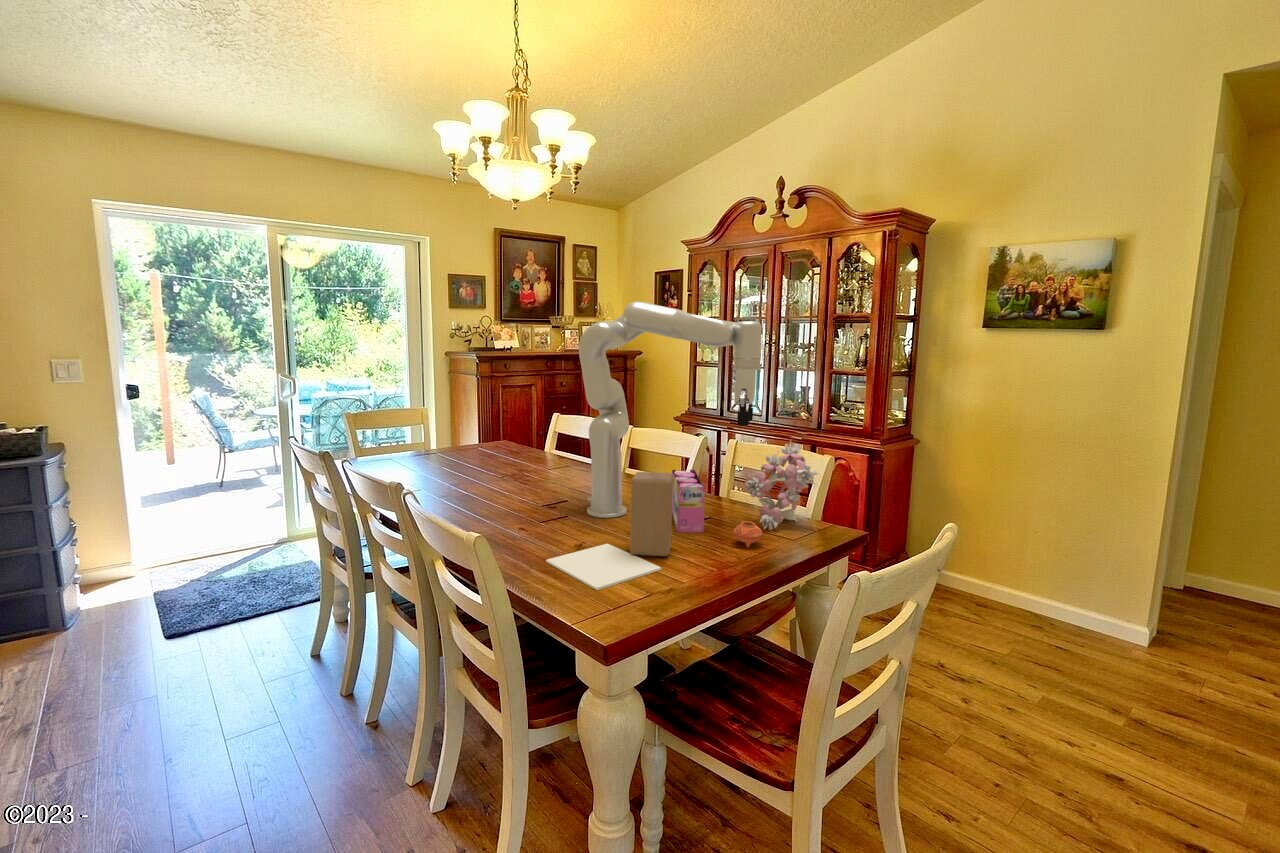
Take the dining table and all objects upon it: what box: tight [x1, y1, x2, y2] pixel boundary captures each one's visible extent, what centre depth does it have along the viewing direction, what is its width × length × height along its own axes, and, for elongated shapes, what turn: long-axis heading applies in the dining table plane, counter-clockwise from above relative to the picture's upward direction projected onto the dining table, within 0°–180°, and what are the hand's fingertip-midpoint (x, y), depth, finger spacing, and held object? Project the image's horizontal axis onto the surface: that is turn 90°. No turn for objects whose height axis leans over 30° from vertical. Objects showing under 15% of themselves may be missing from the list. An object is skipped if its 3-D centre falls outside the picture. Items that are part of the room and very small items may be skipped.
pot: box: [732, 520, 764, 549], centre depth 165 cm, size 8×8×7 cm
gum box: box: [671, 468, 706, 533], centre depth 186 cm, size 24×8×14 cm, turn 2°
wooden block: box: [629, 471, 673, 557], centre depth 159 cm, size 10×10×20 cm
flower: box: [744, 439, 819, 531], centre depth 183 cm, size 20×22×25 cm
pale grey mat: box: [545, 543, 662, 591], centre depth 150 cm, size 22×19×1 cm
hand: (745, 423), depth 179 cm, fingers open, 9 cm apart
